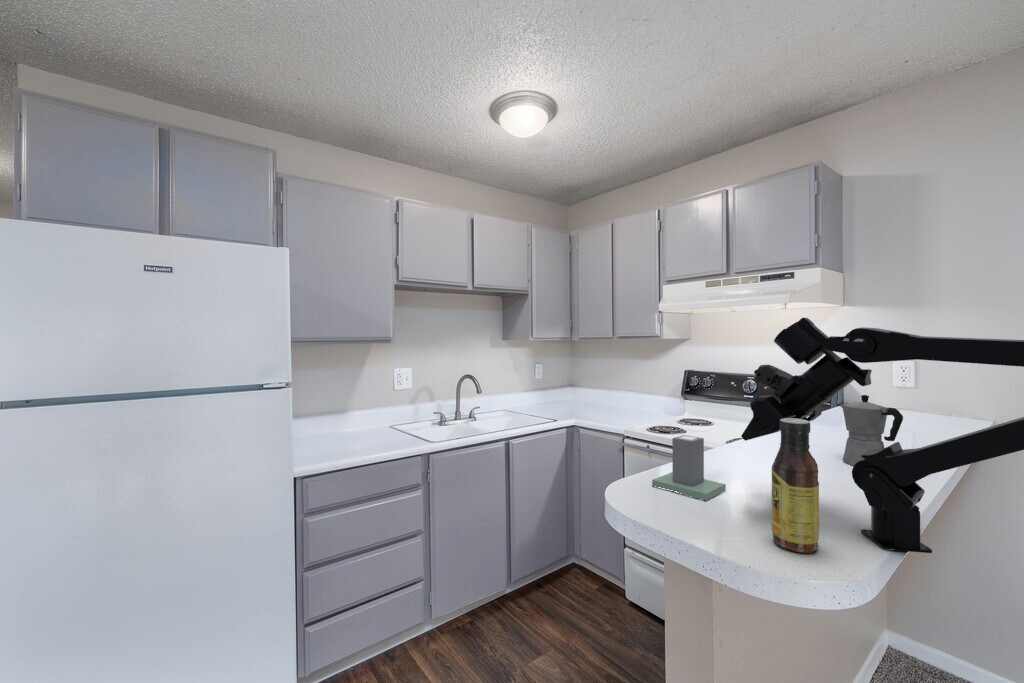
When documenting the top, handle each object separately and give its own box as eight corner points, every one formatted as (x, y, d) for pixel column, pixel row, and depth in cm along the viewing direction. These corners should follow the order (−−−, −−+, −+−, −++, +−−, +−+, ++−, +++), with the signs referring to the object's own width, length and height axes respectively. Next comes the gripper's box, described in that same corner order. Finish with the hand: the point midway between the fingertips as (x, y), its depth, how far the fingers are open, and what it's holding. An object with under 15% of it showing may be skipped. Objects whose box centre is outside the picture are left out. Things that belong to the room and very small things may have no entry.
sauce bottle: (775, 533, 74) (775, 414, 74) (820, 544, 70) (820, 418, 70) (768, 547, 69) (767, 420, 69) (816, 560, 65) (816, 425, 65)
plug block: (703, 482, 96) (703, 437, 96) (692, 487, 93) (692, 441, 93) (684, 477, 99) (684, 434, 99) (672, 481, 96) (672, 437, 96)
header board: (725, 491, 94) (725, 472, 94) (705, 501, 88) (705, 481, 88) (673, 478, 103) (673, 461, 103) (652, 486, 97) (652, 468, 97)
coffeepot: (826, 459, 119) (826, 392, 119) (853, 456, 122) (853, 391, 122) (887, 476, 104) (887, 400, 104) (917, 473, 107) (917, 398, 107)
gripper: (803, 349, 88) (746, 399, 97) (762, 351, 77) (701, 407, 86) (851, 392, 82) (785, 441, 91) (814, 401, 71) (743, 456, 79)
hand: (754, 435), depth 87 cm, fingers open, 9 cm apart
